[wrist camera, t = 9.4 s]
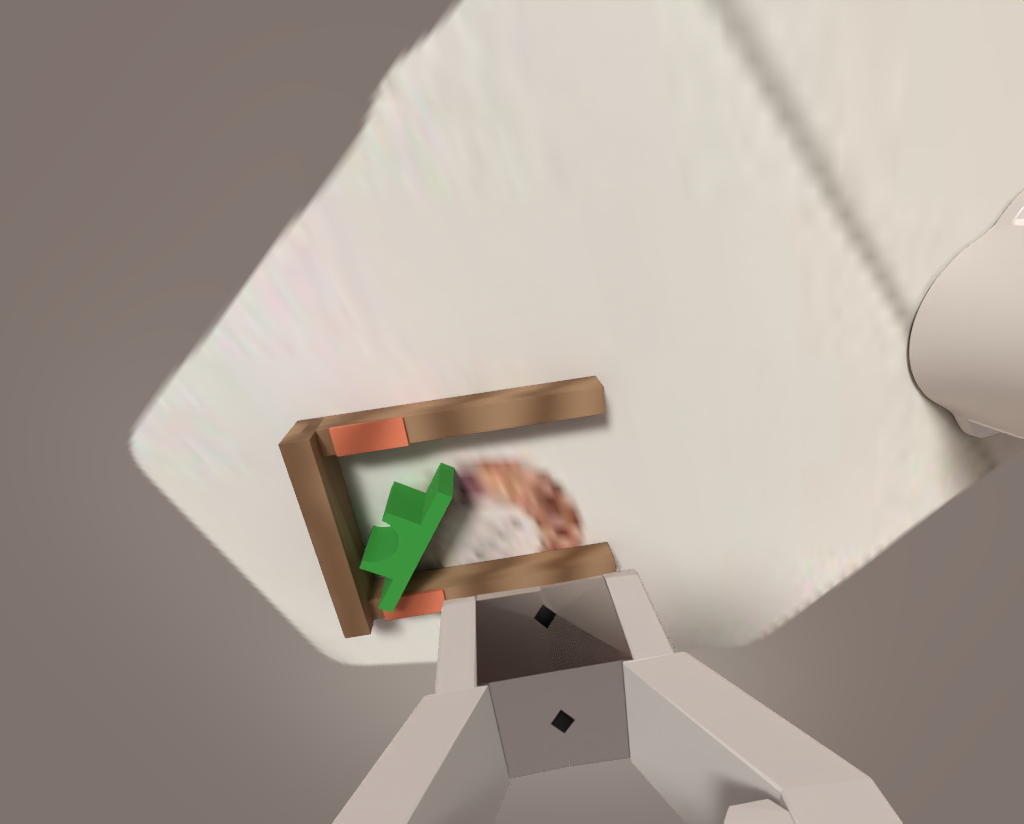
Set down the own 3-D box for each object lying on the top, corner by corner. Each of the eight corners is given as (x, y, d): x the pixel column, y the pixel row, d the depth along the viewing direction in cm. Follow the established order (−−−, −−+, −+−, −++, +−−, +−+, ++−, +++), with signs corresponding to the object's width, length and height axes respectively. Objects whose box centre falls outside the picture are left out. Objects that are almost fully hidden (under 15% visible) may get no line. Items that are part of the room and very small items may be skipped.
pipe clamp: (409, 448, 38) (402, 477, 34) (454, 466, 39) (453, 497, 35) (357, 560, 42) (344, 599, 37) (399, 574, 43) (392, 614, 38)
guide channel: (595, 375, 37) (609, 393, 33) (608, 561, 44) (621, 593, 40) (297, 420, 37) (278, 443, 33) (355, 601, 43) (345, 638, 39)
